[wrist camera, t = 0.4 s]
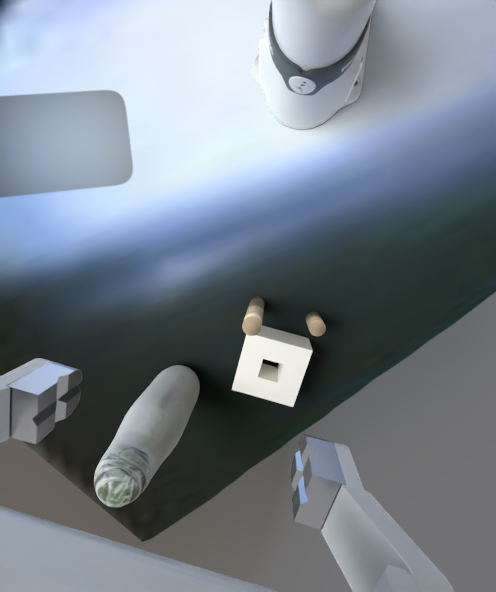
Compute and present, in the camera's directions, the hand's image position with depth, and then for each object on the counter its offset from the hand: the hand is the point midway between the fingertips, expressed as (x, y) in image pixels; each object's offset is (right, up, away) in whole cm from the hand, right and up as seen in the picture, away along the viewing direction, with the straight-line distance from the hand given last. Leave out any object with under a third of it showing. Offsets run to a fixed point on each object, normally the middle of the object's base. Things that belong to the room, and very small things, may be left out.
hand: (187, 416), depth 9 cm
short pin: (+16, 0, +44) cm, 47 cm away
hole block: (+7, -9, +47) cm, 49 cm away
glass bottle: (-13, -15, +51) cm, 54 cm away
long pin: (+4, +3, +45) cm, 45 cm away
